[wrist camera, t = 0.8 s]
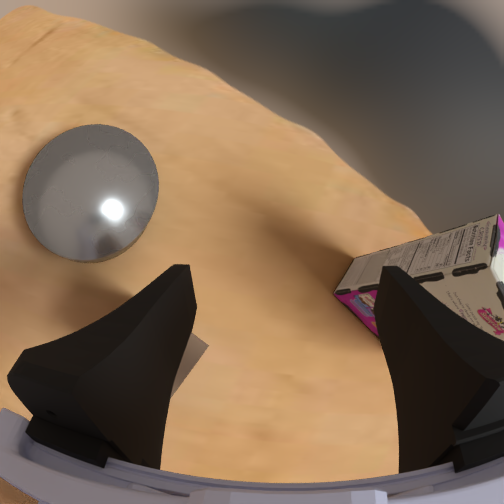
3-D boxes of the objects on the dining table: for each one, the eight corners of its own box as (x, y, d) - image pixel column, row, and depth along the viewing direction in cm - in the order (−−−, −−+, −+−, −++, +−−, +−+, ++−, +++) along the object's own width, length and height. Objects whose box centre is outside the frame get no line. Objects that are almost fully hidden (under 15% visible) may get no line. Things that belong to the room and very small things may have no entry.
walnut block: (156, 383, 22) (165, 405, 16) (108, 347, 21) (100, 359, 15) (190, 337, 23) (209, 345, 18) (143, 300, 22) (147, 297, 17)
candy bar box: (412, 317, 32) (542, 307, 17) (394, 355, 30) (532, 360, 15) (353, 253, 30) (501, 209, 15) (329, 293, 28) (492, 268, 13)
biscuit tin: (97, 294, 21) (92, 292, 19) (11, 209, 20) (-2, 196, 17) (181, 194, 25) (187, 180, 22) (95, 122, 23) (93, 102, 21)
